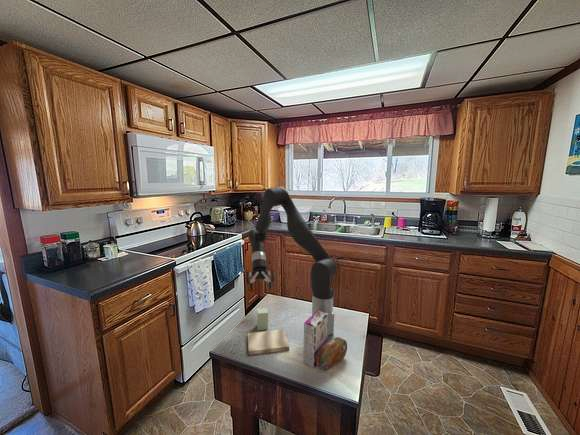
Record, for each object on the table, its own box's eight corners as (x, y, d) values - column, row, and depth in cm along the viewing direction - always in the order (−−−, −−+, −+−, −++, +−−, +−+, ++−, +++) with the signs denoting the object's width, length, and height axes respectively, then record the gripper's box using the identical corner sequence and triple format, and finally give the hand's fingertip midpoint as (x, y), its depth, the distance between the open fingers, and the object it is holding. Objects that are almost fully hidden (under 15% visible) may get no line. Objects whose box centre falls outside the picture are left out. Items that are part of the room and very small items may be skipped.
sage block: (266, 323, 117) (266, 307, 116) (267, 329, 112) (267, 312, 111) (257, 324, 116) (257, 308, 115) (257, 330, 111) (257, 313, 110)
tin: (320, 375, 85) (321, 353, 84) (314, 370, 88) (315, 348, 87) (347, 357, 95) (348, 336, 94) (340, 352, 97) (341, 332, 96)
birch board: (283, 332, 110) (283, 329, 110) (289, 349, 98) (289, 346, 98) (247, 336, 107) (247, 333, 106) (248, 354, 95) (248, 351, 95)
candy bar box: (316, 347, 100) (317, 309, 98) (327, 352, 98) (329, 313, 96) (302, 363, 91) (303, 321, 89) (314, 369, 88) (316, 326, 86)
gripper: (245, 258, 127) (246, 289, 117) (273, 257, 130) (275, 287, 120) (245, 265, 133) (246, 294, 123) (271, 264, 136) (274, 292, 126)
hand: (260, 291), depth 122 cm, fingers open, 8 cm apart
